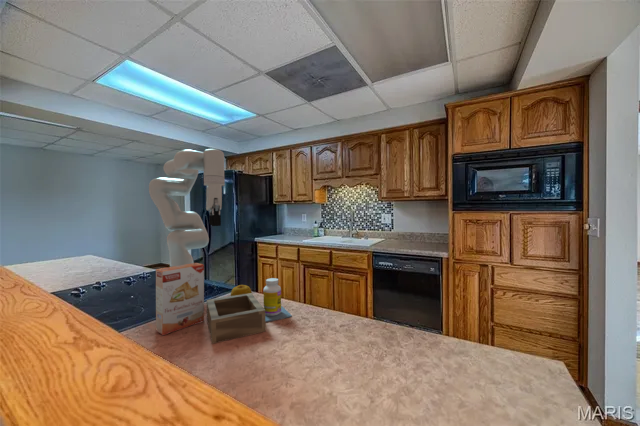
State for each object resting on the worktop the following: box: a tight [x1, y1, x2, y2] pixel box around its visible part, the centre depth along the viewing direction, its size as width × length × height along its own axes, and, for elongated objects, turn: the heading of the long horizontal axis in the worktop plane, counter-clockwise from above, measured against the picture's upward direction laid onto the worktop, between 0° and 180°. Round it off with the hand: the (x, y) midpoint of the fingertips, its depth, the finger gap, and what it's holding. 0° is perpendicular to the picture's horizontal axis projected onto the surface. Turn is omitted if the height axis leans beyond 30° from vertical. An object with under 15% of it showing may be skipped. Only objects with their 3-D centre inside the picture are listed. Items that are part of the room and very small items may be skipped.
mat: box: [265, 305, 293, 323], centre depth 99 cm, size 11×11×1 cm
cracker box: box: [155, 262, 205, 336], centre depth 90 cm, size 14×6×21 cm, turn 143°
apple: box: [230, 284, 253, 296], centre depth 108 cm, size 9×8×9 cm
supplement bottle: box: [262, 277, 282, 316], centre depth 99 cm, size 7×7×13 cm
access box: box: [206, 292, 267, 344], centre depth 90 cm, size 20×16×7 cm
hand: (214, 225), depth 101 cm, fingers open, 9 cm apart
